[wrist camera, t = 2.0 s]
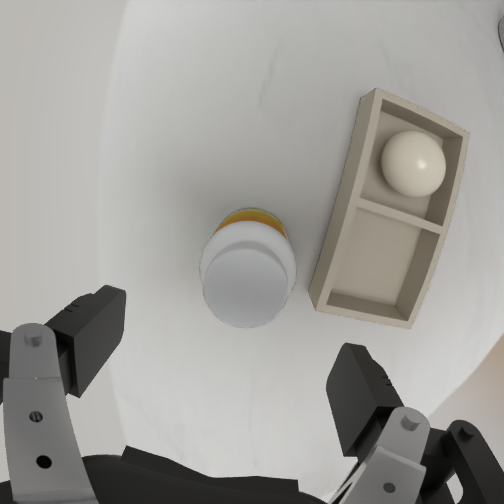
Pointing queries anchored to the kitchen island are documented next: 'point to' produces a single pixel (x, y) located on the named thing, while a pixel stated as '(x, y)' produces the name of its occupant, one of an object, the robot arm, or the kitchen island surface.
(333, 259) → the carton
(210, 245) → the supplement bottle
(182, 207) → the kitchen island surface
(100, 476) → the robot arm
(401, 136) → the egg
